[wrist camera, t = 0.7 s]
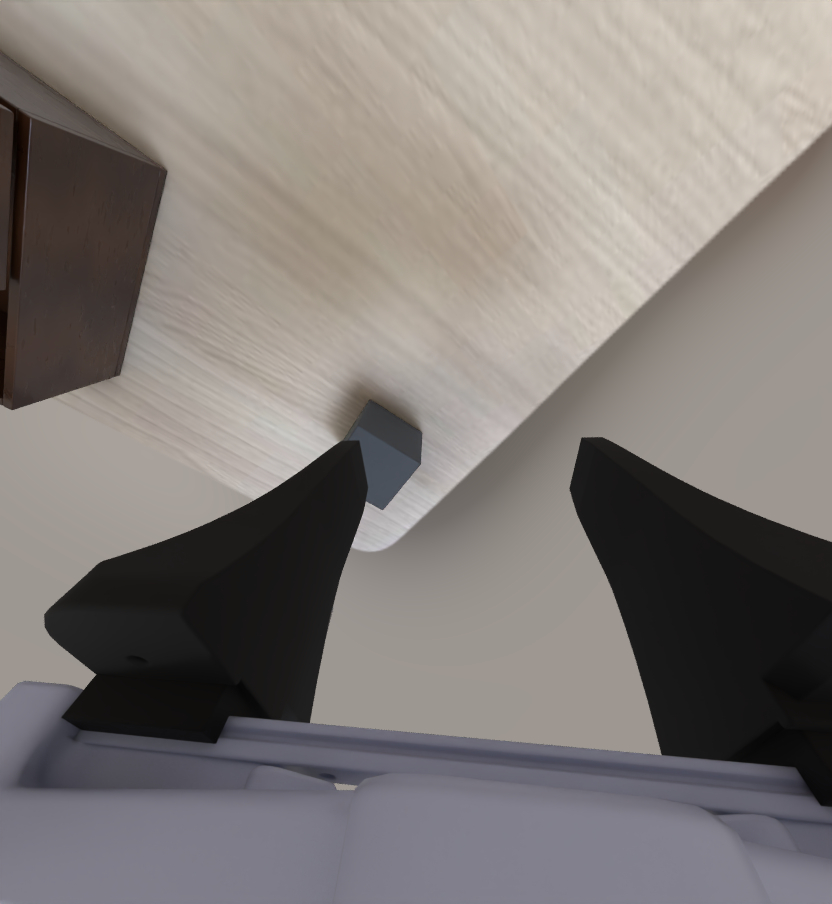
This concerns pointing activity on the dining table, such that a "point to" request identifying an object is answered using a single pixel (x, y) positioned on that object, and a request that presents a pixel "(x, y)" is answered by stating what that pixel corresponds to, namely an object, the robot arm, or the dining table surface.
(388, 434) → the block
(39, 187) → the box
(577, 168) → the dining table surface
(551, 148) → the dining table surface
